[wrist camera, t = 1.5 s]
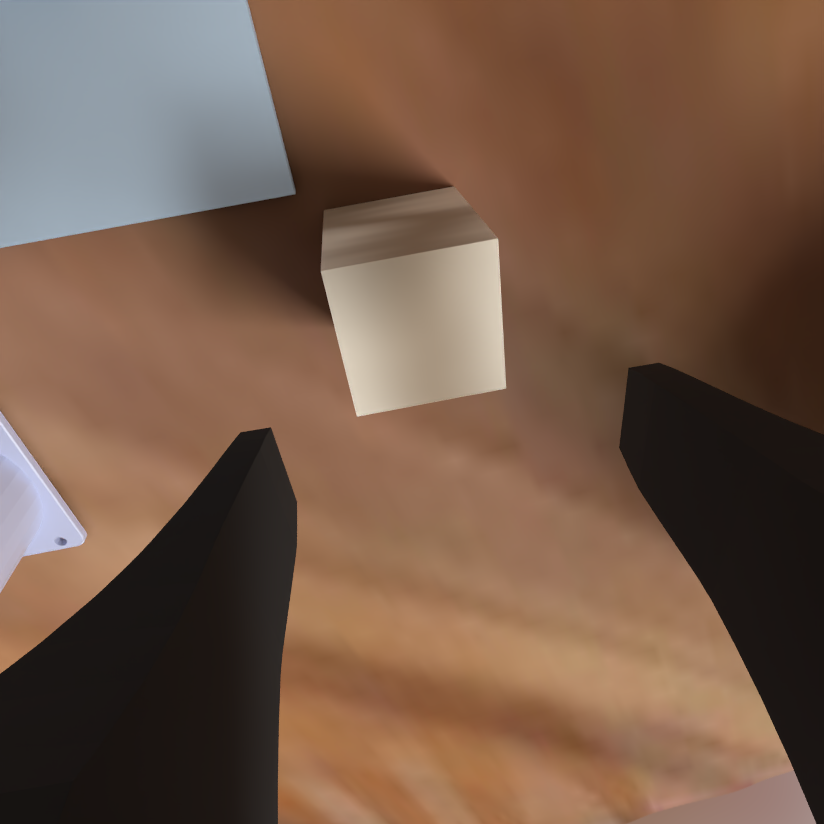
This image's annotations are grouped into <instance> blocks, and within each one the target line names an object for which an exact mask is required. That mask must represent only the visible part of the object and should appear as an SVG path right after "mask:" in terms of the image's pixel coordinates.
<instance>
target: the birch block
mask: <svg viewBox="0 0 824 824" xmlns="http://www.w3.org/2000/svg"><path fill="white" fill-rule="evenodd" d="M321 274H322V278H323V282H324V286H325V290H326V294H327V298H328V302H329V306H330V311H331V315H332V319H333V323H334V327H335V331H336V335H337V339H338V343H339V347H340V351H341V355H342V359H343V363H344V367H345V371H346V375H347V379H348V383H349V387H350V391H351V395H352V399H353V403H354V407H355V411H356V415H357V416H363V415H368V414H373V413H379V412H384V411H389V410H394V409H400V408H405V407H410V406H416V405H421V404H426V403H432V402H437V401H442V400H447V399H453V398H458V397H463V396H469V395H474V394H479V393H484V392H490V391H495V390H500V389H506V379H505V360H504V342H503V323H502V304H501V285H500V266H499V247H498V238H497V237H496V235H495V234H494V233H493V232H492V231H491V230H490V228H489V227H488V226H487V225H486V224H485V222H484V221H483V220H482V219H481V218H480V216H479V215H478V214H477V213H476V212H475V211H474V209H473V208H472V207H471V206H470V205H469V203H468V202H467V201H466V200H465V199H464V197H463V196H462V195H461V194H460V193H459V192H458V190H457V189H456V188H455V187H454V186H453V187H448V188H442V189H437V190H431V191H426V192H420V193H415V194H410V195H404V196H399V197H393V198H388V199H382V200H377V201H371V202H366V203H360V204H355V205H349V206H344V207H338V208H333V209H327V210H324V216H323V236H322V255H321Z"/></svg>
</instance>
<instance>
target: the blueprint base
mask: <svg viewBox="0 0 824 824" xmlns="http://www.w3.org/2000/svg"><path fill="white" fill-rule="evenodd" d="M294 194H296V189H295V186H294V182H293V178H292V174H291V170H290V166H289V162H288V158H287V154H286V150H285V146H284V142H283V138H282V135H281V131H280V127H279V123H278V119H277V115H276V111H275V107H274V103H273V99H272V95H271V91H270V87H269V84H268V80H267V76H266V72H265V68H264V64H263V60H262V56H261V52H260V48H259V44H258V40H257V36H256V32H255V29H254V25H253V21H252V17H251V13H250V9H249V5H248V1H247V0H0V248H3V247H8V246H14V245H19V244H25V243H30V242H36V241H41V240H47V239H52V238H58V237H63V236H69V235H74V234H80V233H85V232H91V231H96V230H102V229H107V228H113V227H118V226H124V225H129V224H135V223H140V222H146V221H151V220H157V219H162V218H167V217H173V216H178V215H184V214H189V213H195V212H200V211H206V210H211V209H217V208H222V207H228V206H233V205H239V204H244V203H250V202H255V201H261V200H266V199H272V198H277V197H283V196H288V195H294Z"/></svg>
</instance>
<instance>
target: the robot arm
mask: <svg viewBox="0 0 824 824" xmlns="http://www.w3.org/2000/svg"><path fill="white" fill-rule="evenodd" d="M619 448H620V450H621V452H622V455H623V457H624V459H625V461H626V463H627V466H628V468H629V470H630V472H631V474H632V476H633V478H634V480H635V482H636V484H637V486H638V488H639V490H640V491H641V493H642V495H643V496H644V498H645V499H646V501H647V502H648V504H649V505H650V507H651V508H652V510H653V511H654V513H655V514H656V516H657V517H658V519H659V521H660V522H661V524H662V525H663V527H664V528H665V529H666V531H667V532H668V534H669V535H670V537H671V538H672V540H673V541H674V543H675V544H676V546H677V547H678V549H679V550H680V552H681V553H682V555H683V556H684V558H685V559H686V561H687V562H688V564H689V565H690V567H691V568H692V570H693V571H694V573H695V574H696V576H697V577H698V579H699V580H700V582H701V584H702V585H703V587H704V589H705V590H706V592H707V594H708V595H709V597H710V598H711V600H712V602H713V604H714V606H715V608H716V610H717V611H718V613H719V615H720V617H721V619H722V621H723V623H724V625H725V627H726V629H727V630H728V632H729V634H730V636H731V638H732V640H733V642H734V644H735V646H736V648H737V650H738V652H739V654H740V656H741V658H742V660H743V662H744V664H745V666H746V668H747V670H748V672H749V674H750V676H751V678H752V680H753V682H754V684H755V686H756V688H757V690H758V692H759V694H760V696H761V698H762V701H763V703H764V705H765V707H766V709H767V711H768V714H769V716H770V718H771V720H772V722H773V725H774V727H775V729H776V731H777V733H778V735H779V738H780V740H781V742H782V744H783V746H784V749H785V751H786V753H787V755H788V757H789V760H790V762H791V764H792V767H793V769H794V771H795V774H796V776H797V778H798V781H799V783H800V786H801V788H802V790H803V793H804V795H805V797H806V800H807V802H808V805H809V807H810V809H811V812H812V814H813V816H814V819H815V821H816V824H824V435H823V434H820V433H818V432H815V431H813V430H810V429H808V428H805V427H803V426H800V425H798V424H795V423H793V422H790V421H788V420H786V419H783V418H781V417H779V416H776V415H774V414H772V413H769V412H767V411H765V410H763V409H760V408H758V407H756V406H754V405H751V404H749V403H747V402H745V401H743V400H741V399H738V398H736V397H734V396H732V395H730V394H728V393H725V392H723V391H721V390H719V389H717V388H715V387H713V386H711V385H708V384H706V383H704V382H702V381H700V380H698V379H696V378H694V377H691V376H689V375H687V374H685V373H683V372H680V371H678V370H676V369H673V368H671V367H669V366H666V365H663V364H661V363H655V364H649V365H643V366H637V367H631V368H629V370H628V378H627V387H626V395H625V404H624V412H623V421H622V429H621V438H620V446H619ZM60 537H61V538H60ZM86 537H87V533H86V531H85V530H84V528H83V527H82V525H81V524H80V523H79V521H78V520H77V518H76V517H75V516H74V514H73V513H72V511H71V510H70V509H69V507H68V506H67V504H66V503H65V501H64V500H63V499H62V497H61V496H60V494H59V493H58V492H57V490H56V489H55V487H54V486H53V485H52V483H51V482H50V480H49V479H48V478H47V476H46V475H45V473H44V472H43V471H42V469H41V468H40V466H39V465H38V463H37V462H36V461H35V459H34V458H33V456H32V455H31V454H30V452H29V451H28V449H27V448H26V447H25V445H24V444H23V442H22V441H21V440H20V438H19V437H18V435H17V434H16V432H15V431H14V430H13V428H12V427H11V425H10V424H9V423H8V421H7V420H6V418H5V417H4V416H3V414H2V413H1V411H0V593H1V591H2V589H3V588H4V586H5V584H6V583H7V581H8V579H9V578H10V576H11V574H12V573H13V571H14V570H15V568H16V566H17V565H18V563H19V561H20V560H21V558H22V557H23V556H28V555H33V554H39V553H44V552H49V551H54V550H59V549H65V548H70V547H75V546H79V545H82V544H83V543H84V541H85V539H86ZM63 538H64V539H63ZM296 548H297V501H296V498H295V495H294V492H293V489H292V487H291V484H290V481H289V478H288V475H287V472H286V469H285V466H284V464H283V461H282V458H281V455H280V452H279V449H278V446H277V444H276V441H275V438H274V435H273V432H272V429H271V428H265V429H259V430H253V431H247V432H241V433H240V434H239V435H238V436H237V437H236V439H235V440H234V441H233V442H232V444H231V445H230V446H229V447H228V449H227V450H226V451H225V453H224V454H223V455H222V457H221V458H220V459H219V461H218V462H217V463H216V464H215V466H214V467H213V468H212V470H211V471H210V472H209V474H208V475H207V476H206V477H205V479H204V480H203V481H202V482H201V484H200V485H199V486H198V487H197V489H196V490H195V491H194V492H193V494H192V495H191V496H190V497H189V499H188V500H187V501H186V502H185V503H184V505H183V506H182V507H181V508H180V509H179V510H178V511H177V513H176V514H175V515H174V516H173V517H172V518H171V519H170V521H169V522H168V523H167V524H166V525H165V526H164V527H163V529H162V530H161V531H160V532H159V533H158V534H157V535H156V536H155V538H154V539H153V540H152V541H151V542H150V543H149V544H148V545H147V546H146V547H145V549H144V550H143V551H142V552H141V553H140V554H139V555H138V556H137V557H136V558H135V559H134V560H133V561H132V562H131V563H130V564H129V565H128V566H127V567H126V568H125V569H124V570H123V571H122V572H121V573H120V574H119V575H118V576H116V577H115V578H114V579H113V580H112V581H111V582H110V583H109V584H108V585H107V586H106V587H105V588H104V589H103V590H102V591H101V592H100V593H98V594H97V595H96V596H95V597H94V598H93V599H92V600H91V601H89V602H88V603H87V604H86V605H85V606H84V607H82V608H81V609H80V610H79V611H78V612H76V613H75V614H74V615H73V616H72V617H71V618H69V619H68V620H67V621H66V622H65V623H63V624H62V625H61V626H60V627H59V628H58V629H56V630H55V631H54V632H53V633H52V634H50V635H49V636H48V637H47V638H46V639H45V640H43V641H42V642H41V643H40V644H38V645H37V646H36V647H35V648H33V649H32V650H31V651H29V652H28V653H27V654H26V655H24V656H23V657H22V658H20V659H19V660H18V661H16V662H15V663H14V664H13V665H11V666H10V667H9V668H7V669H6V670H5V671H3V672H2V673H1V674H0V824H278V737H279V703H280V675H281V664H282V653H283V645H284V638H285V630H286V623H287V616H288V609H289V601H290V594H291V587H292V580H293V572H294V564H295V557H296Z"/></svg>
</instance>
